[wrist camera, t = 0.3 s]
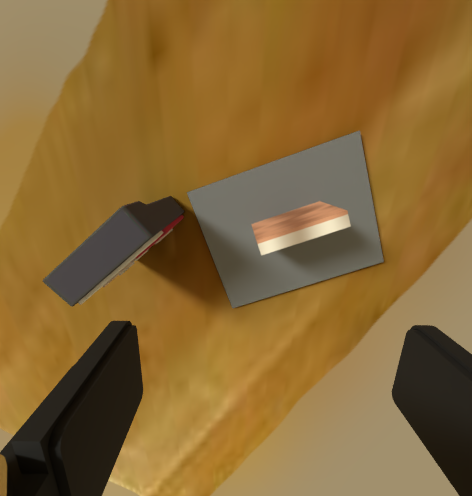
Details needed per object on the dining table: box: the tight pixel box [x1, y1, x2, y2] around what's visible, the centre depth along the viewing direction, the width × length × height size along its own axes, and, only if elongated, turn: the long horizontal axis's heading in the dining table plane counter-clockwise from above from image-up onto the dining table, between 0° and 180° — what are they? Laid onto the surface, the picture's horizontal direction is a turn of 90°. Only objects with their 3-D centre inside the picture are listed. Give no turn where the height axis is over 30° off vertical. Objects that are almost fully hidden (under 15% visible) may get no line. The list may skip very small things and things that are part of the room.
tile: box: [251, 201, 351, 256], centre depth 31 cm, size 10×2×9 cm, turn 109°
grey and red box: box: [43, 196, 184, 306], centre depth 30 cm, size 11×4×15 cm, turn 130°
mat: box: [187, 131, 384, 308], centre depth 36 cm, size 24×19×1 cm
